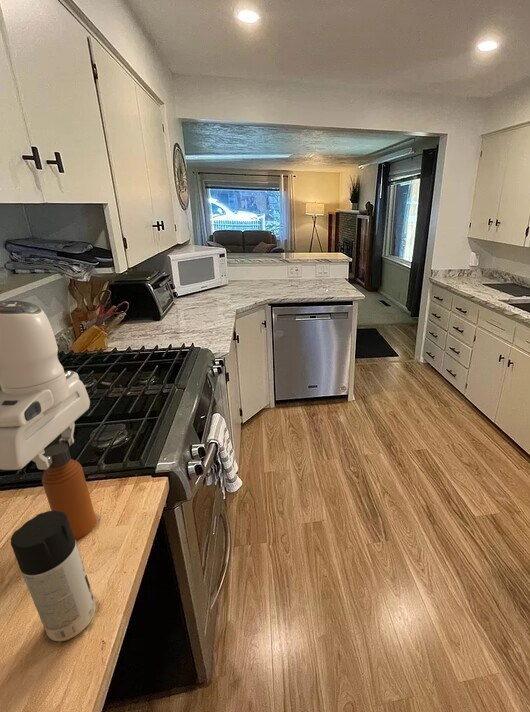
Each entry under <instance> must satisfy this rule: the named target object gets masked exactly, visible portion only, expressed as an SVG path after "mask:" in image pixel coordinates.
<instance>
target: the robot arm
mask: <svg viewBox="0 0 530 712" xmlns="http://www.w3.org/2000/svg"><path fill="white" fill-rule="evenodd" d="M58 352H59V347H58V343H57V339H56V337H55V333H54V330H53V327H52V325H51V322H50V320H49V317H48V316H47V314H46V313H45V312H44V310H43V309H42V308H41V307H40V306H39V305H37V304H35V303H33V302H29V301H25V300H13V299H12V300H9V299H8V300H0V389H1V390H0V470H2V471H17V470H21V469H24V467H26V466H27V465H28V464H29V463H30V462H31V461H32V462H33V463H35V465H36V467H37V469H38V470H42V471H45V470H46V469H48V468H49V467H50V466H51V465H52V463H53V461H52V458H51V456H47V457H45V456H43V454H44V453H45V451H44V450H45V449H46V448H48V447H49V445H50V444H51V443H52V442H54V440H56V439H57V438H58V437H59V436H60V435H61V437H60V438H59V440H58V444H60V443H64V444H67V445H68V448H69V449H70V447H71V446H72V445H73V444H74V443H75V439H74V432H75V427H76V424H75V421H77V420H78V419H79V418H80V417H81V416H82V415H84V414H85V413H86V412H87V411H88V410H89V409H90V407H91V399H90V396H89V394H88V392H87V391H88V390H87V389H86V387H85V385H84V382H83V381H82V380H80V376H79V374H78V373H77V372H75V370H67V371H65V369H64V366H63V365H62V364H61V362H60V360H59V357H58V356H59V355H58Z"/></svg>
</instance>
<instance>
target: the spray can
mask: <svg viewBox="0 0 530 712" xmlns="http://www.w3.org/2000/svg"><path fill="white" fill-rule="evenodd" d="M10 546H11V549H12V551H13V554H14V556H15V559H16V562H17V564H18V568H19V570H20V573H21V574H22V577H23V578H24V582H25V584H26V587H27V589H28V591H29V595H30V597H31V600H32V601H33V604H34V606H35V609H36V612H37V613H38V616H39V619H40V621H41V623H42V626H43V629H44V631H45V633H46V636H47V637H48V638H49V639H50V640H52V641H54V642H65V641H69V640H71V639H73V638H74V637H76V636H77V635H79V634H81V633H82V632H83V631H84V630H85V629H87V627H88V626H89V625H90V623H91V622H92V620H93V618H94V615H95V614H96V613H95V612H96V600H95V596H94V595H93V589H92V588H91V584H90V581H89V579H88V575H87V573H86V569H85V565H84V564H83V560H82V559H83V558H82V556H81V552H80V550H79V547H78V546H79V545H78V543H77V539H76V540H75V537H74V534H73V532H72V529H71V526H70V523H69V520H68V517H67V515H66V514H65V513H64V512H62V511H56V510H53V511H51V510H48V511H45V512H41V513H38V514H37V515H35V516H34V517H33V518H31V519H28V520H27V521H25V522H24V523H23V524H22V525H21V526H20V527H19V528H18V529H17V530H15V531H14V532H13V533H12V535H11V537H10Z"/></svg>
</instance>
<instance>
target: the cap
mask: <svg viewBox="0 0 530 712" xmlns="http://www.w3.org/2000/svg"><path fill="white" fill-rule="evenodd" d="M44 451H45V453H44V454H42V455H43V456H45V457H47V456H51V458H52V461H53V463H52V465H51V466H50V467H49V468H50V469H54V468H58V467H61V466H63V465H65V464H67V463H68V462H69V461H70V460H71V459H72V454H71V452H70V447H69V448H68V445H67V444H64V443H55V444H52V445H50V446H47V447H45V448H44Z"/></svg>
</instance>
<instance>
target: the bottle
mask: <svg viewBox="0 0 530 712" xmlns="http://www.w3.org/2000/svg"><path fill="white" fill-rule="evenodd" d="M41 483H42V486H43V490H44V493H45V495H46V499H47V501H48V505H49V508H50V511H53V510H56V511H62V512H64V513H65V514H66V515H67V517H68V520H69V523H70V526H71V529H72V532H73V534H74V537H75V540H76V541H77V540H79V539H80V538H83V537H85V536H86V535H88V534H89V533H90V532H91V531H92V530H93V529H94V528H95V526H96V524H97V517H96V514H95V509H94V506H93V502H92V499H91V495H90V492H89V488H88V484H87V480H86V477H85V473H84V469H83V466H82V464H80V462H79V461H77V460H75V459H72V458H71V460H70V461H69V462H68V463H67V464H65V465H63V466H61V467H58V468H54V469H50V468H48V469H46V470H44V472H43V474H42V476H41Z"/></svg>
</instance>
